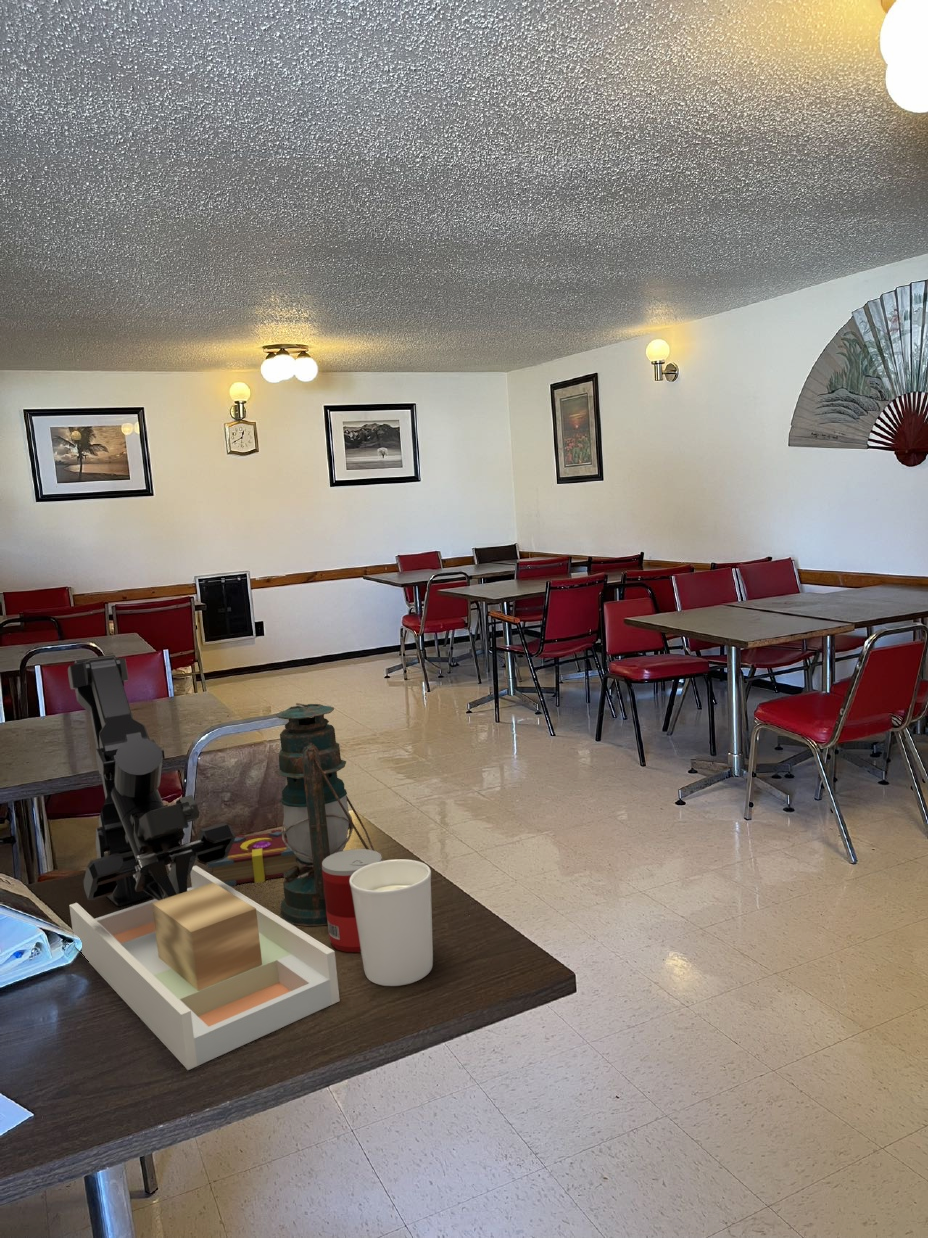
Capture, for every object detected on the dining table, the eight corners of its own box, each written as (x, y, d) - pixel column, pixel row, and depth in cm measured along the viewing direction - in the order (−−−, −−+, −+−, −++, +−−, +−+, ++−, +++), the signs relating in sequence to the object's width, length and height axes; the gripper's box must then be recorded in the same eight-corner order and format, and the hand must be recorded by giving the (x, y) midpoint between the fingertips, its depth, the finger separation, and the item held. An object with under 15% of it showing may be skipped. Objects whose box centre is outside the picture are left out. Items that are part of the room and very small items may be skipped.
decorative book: (214, 865, 150) (211, 837, 150) (311, 851, 154) (309, 822, 153) (210, 891, 139) (207, 860, 139) (315, 875, 143) (312, 844, 142)
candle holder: (450, 953, 112) (442, 861, 111) (421, 994, 103) (412, 893, 102) (379, 947, 115) (370, 857, 114) (344, 986, 106) (334, 888, 105)
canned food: (380, 954, 113) (372, 870, 112) (320, 953, 115) (312, 870, 114) (396, 927, 121) (389, 848, 120) (340, 926, 122) (332, 848, 121)
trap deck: (74, 947, 123) (69, 905, 122) (200, 904, 134) (196, 865, 133) (187, 1070, 92) (181, 1014, 91) (339, 1001, 103) (334, 951, 102)
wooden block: (158, 957, 111) (151, 903, 110) (219, 934, 116) (213, 882, 115) (198, 991, 102) (191, 932, 101) (262, 964, 107) (256, 908, 106)
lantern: (279, 888, 138) (259, 696, 134) (372, 873, 140) (354, 685, 137) (281, 944, 119) (257, 721, 115) (388, 925, 121) (368, 708, 118)
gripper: (78, 799, 110) (118, 910, 102) (221, 764, 121) (267, 862, 114) (68, 846, 117) (105, 954, 109) (205, 809, 128) (247, 904, 121)
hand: (184, 916), depth 113 cm, fingers closed, pressing on wooden block
